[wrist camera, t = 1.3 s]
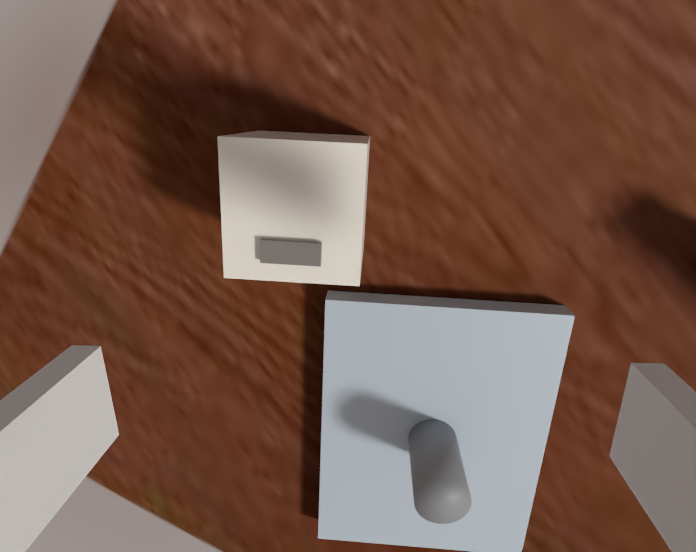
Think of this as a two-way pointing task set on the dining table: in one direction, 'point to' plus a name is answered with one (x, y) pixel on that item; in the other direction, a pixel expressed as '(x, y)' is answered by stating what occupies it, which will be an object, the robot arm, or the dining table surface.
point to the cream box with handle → (293, 206)
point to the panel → (436, 418)
